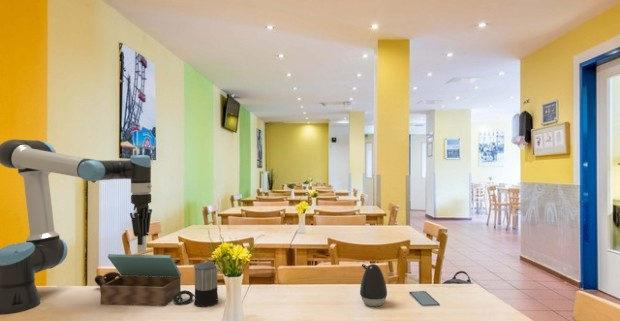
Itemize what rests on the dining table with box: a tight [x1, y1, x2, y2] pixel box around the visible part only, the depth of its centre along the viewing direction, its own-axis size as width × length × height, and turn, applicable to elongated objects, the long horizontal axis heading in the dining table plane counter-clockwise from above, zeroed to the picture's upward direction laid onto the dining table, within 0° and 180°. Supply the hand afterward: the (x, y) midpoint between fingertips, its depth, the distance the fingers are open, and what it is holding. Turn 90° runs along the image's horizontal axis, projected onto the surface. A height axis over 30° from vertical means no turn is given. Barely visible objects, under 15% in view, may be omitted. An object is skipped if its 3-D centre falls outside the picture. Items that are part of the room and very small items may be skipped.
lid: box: [107, 253, 182, 278], centre depth 162 cm, size 26×14×2 cm
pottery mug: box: [94, 271, 121, 287], centre depth 171 cm, size 12×10×8 cm
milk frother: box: [172, 261, 219, 308], centre depth 154 cm, size 14×16×15 cm
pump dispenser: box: [359, 263, 388, 307], centre depth 151 cm, size 10×10×15 cm
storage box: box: [99, 276, 182, 307], centre depth 159 cm, size 26×14×7 cm, turn 84°
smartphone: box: [408, 290, 440, 307], centre depth 156 cm, size 7×1×15 cm
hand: (141, 252), depth 159 cm, fingers closed
